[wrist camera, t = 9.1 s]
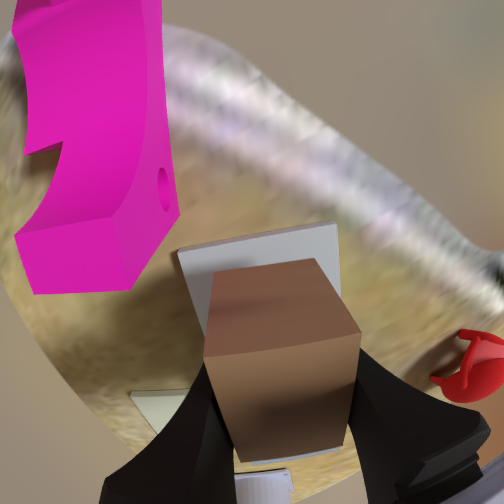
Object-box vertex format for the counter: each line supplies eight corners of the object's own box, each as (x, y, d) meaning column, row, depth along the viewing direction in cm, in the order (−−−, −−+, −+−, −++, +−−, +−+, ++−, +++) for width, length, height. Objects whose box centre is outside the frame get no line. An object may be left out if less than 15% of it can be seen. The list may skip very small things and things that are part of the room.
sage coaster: (239, 433, 21) (239, 439, 21) (165, 436, 21) (164, 441, 21) (218, 386, 19) (218, 392, 18) (131, 391, 19) (130, 396, 18)
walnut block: (316, 365, 14) (342, 445, 9) (237, 377, 13) (240, 462, 9) (314, 257, 11) (361, 332, 7) (214, 271, 11) (202, 357, 7)
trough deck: (335, 424, 22) (342, 449, 19) (248, 440, 22) (249, 465, 19) (333, 220, 14) (352, 238, 12) (179, 248, 15) (167, 272, 12)
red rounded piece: (498, 319, 14) (471, 397, 13) (528, 348, 14) (504, 416, 12) (437, 326, 22) (411, 385, 20) (471, 350, 21) (448, 404, 20)
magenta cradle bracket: (64, -4, 8) (-8, -45, 1) (162, -39, 8) (123, -116, 1) (77, 229, 14) (-7, 295, 7) (180, 214, 14) (130, 290, 7)
